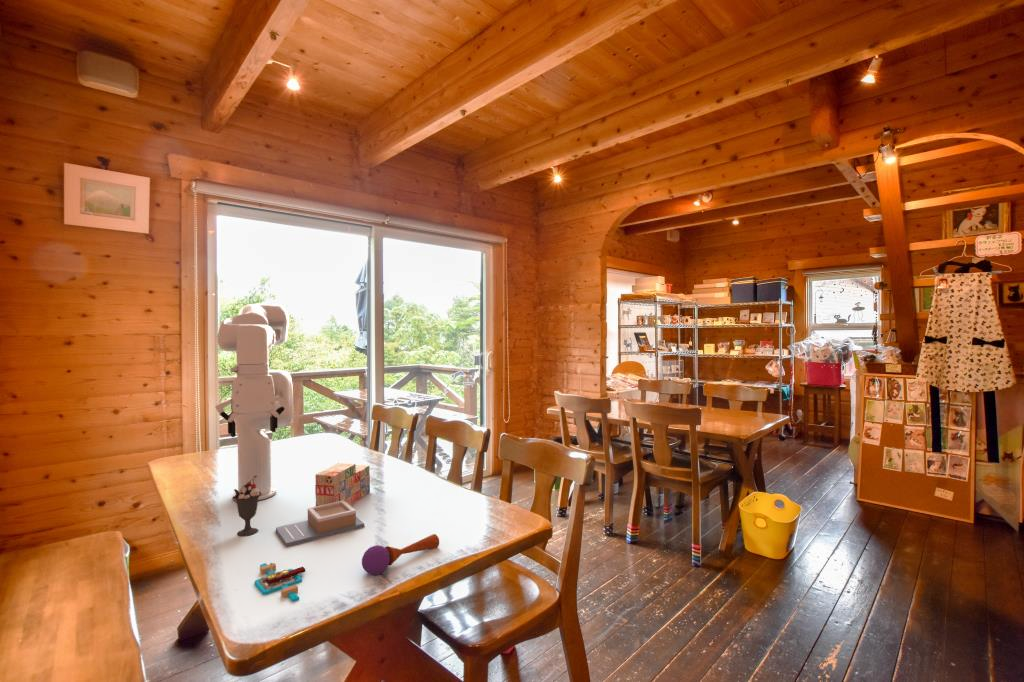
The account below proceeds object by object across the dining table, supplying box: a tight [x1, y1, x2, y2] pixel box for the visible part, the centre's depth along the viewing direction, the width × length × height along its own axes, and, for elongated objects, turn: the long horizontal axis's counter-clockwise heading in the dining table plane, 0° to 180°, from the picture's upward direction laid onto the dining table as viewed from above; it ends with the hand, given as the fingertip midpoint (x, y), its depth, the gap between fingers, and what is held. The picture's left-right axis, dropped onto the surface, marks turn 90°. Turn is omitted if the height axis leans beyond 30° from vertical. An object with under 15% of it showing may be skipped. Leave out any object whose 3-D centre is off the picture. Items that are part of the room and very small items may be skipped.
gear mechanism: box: [254, 561, 306, 603], centre depth 103 cm, size 20×5×9 cm
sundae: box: [232, 476, 262, 537], centre depth 128 cm, size 7×7×15 cm
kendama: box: [361, 533, 440, 576], centre depth 112 cm, size 6×6×20 cm
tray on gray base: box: [275, 500, 365, 548], centre depth 130 cm, size 12×20×5 cm, turn 128°
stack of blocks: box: [314, 462, 371, 507], centre depth 151 cm, size 21×6×12 cm, turn 168°
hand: (253, 433), depth 129 cm, fingers open, 9 cm apart
